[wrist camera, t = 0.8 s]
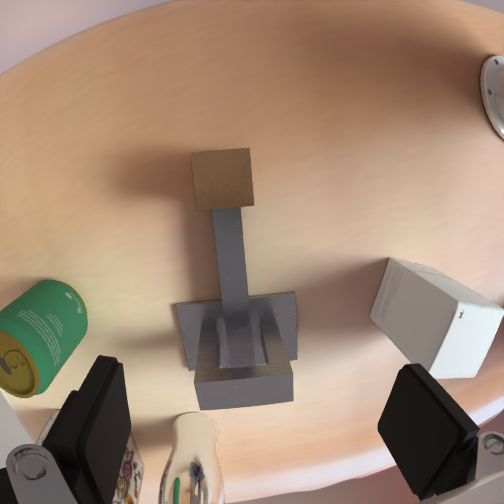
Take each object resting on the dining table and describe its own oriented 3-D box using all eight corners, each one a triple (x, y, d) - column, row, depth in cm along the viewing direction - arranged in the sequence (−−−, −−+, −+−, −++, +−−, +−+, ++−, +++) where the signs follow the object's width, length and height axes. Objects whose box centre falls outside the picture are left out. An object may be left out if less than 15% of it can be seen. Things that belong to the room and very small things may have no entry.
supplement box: (367, 317, 35) (422, 381, 22) (388, 255, 33) (459, 299, 21) (415, 324, 36) (474, 380, 23) (437, 268, 34) (508, 309, 22)
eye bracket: (294, 291, 33) (321, 341, 23) (296, 356, 35) (318, 417, 25) (176, 303, 32) (159, 357, 22) (189, 367, 34) (180, 431, 24)
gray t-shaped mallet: (243, 152, 29) (249, 147, 21) (262, 375, 35) (270, 422, 28) (199, 157, 29) (190, 153, 21) (227, 378, 35) (228, 427, 27)
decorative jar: (127, 414, 36) (94, 527, 18) (147, 467, 39) (130, 564, 21) (52, 406, 35) (2, 498, 18) (78, 458, 38) (48, 543, 21)
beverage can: (22, 290, 31) (-38, 336, 19) (69, 266, 30) (7, 312, 19) (54, 348, 33) (9, 407, 21) (103, 330, 32) (61, 396, 21)
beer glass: (213, 449, 38) (214, 540, 24) (164, 436, 37) (150, 528, 23) (230, 417, 37) (235, 516, 22) (176, 403, 36) (161, 503, 21)
